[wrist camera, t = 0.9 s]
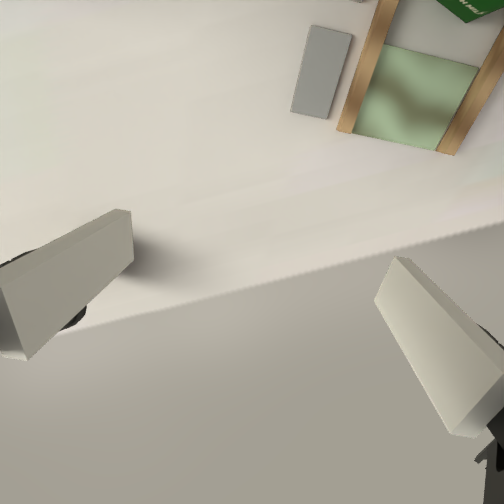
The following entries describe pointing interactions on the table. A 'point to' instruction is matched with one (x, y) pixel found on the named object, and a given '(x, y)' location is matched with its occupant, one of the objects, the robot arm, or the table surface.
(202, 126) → the table surface
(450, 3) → the soya milk
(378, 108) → the lane
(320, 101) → the broken strip
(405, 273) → the robot arm
